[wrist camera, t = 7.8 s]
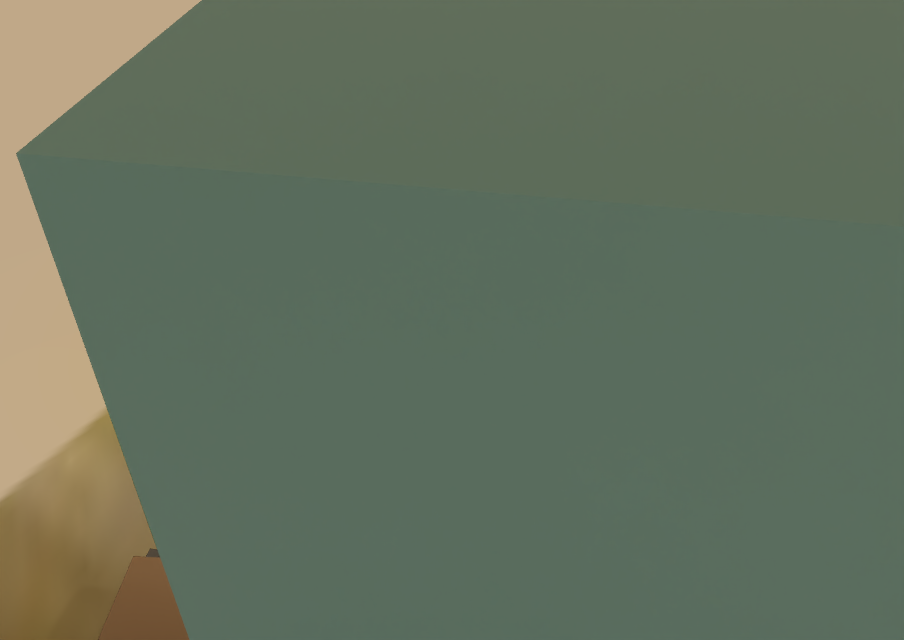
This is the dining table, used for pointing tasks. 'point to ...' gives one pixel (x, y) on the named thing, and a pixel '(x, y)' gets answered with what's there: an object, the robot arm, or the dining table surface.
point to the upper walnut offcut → (144, 606)
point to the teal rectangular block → (502, 314)
